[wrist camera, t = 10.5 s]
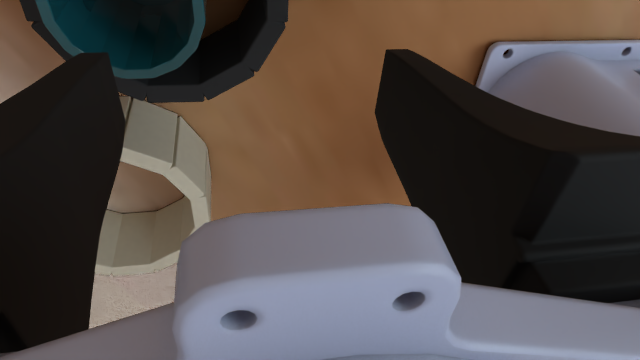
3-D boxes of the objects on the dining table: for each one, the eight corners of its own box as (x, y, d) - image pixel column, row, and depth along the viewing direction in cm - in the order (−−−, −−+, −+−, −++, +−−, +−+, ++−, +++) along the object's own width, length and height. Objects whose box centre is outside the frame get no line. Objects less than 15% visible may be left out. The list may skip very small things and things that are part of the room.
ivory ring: (200, 93, 23) (198, 142, 20) (216, 215, 28) (216, 267, 25) (5, 99, 21) (-28, 153, 18) (64, 227, 27) (46, 283, 24)
